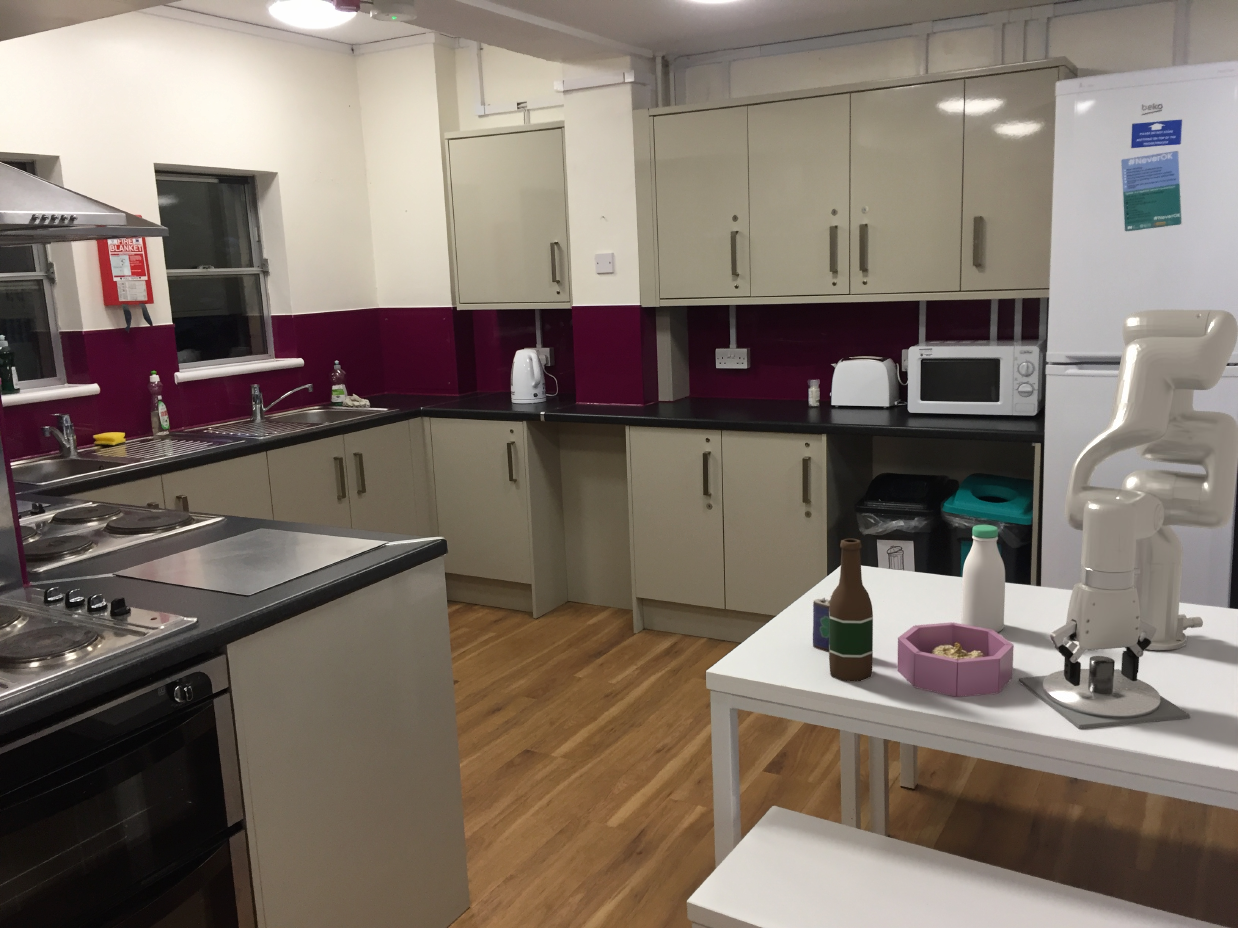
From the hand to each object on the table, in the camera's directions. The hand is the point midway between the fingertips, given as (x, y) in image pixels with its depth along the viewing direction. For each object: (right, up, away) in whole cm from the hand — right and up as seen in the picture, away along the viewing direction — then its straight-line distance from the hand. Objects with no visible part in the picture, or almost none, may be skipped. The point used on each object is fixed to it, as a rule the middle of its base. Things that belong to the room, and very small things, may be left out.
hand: (1100, 680), depth 161 cm
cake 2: (-18, -2, +14) cm, 23 cm away
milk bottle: (-7, +3, +34) cm, 34 cm away
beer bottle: (-37, -2, +14) cm, 39 cm away
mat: (0, -3, +1) cm, 3 cm away
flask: (-37, 0, +25) cm, 45 cm away
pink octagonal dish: (-19, -2, +12) cm, 23 cm away
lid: (0, -3, +1) cm, 3 cm away
